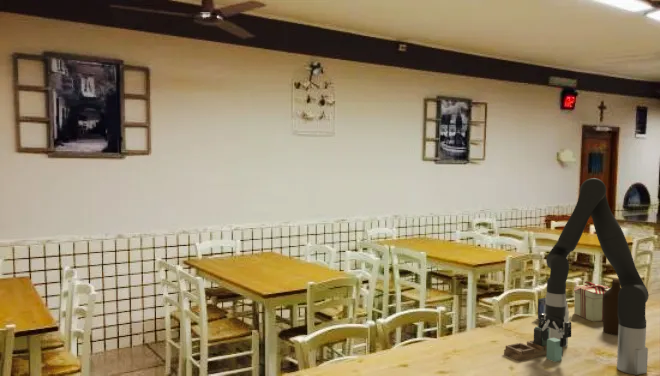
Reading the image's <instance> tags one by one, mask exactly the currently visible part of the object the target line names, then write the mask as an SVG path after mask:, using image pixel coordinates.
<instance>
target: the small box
mask: <svg viewBox="0 0 660 376" xmlns="http://www.w3.org/2000/svg"><path fill="white" fill-rule="evenodd" d="M537 299H538V301H537V304H538V305H537V320H539V315H540V314H544V313H545V304H546V297H542V298H537ZM545 321H546V320H545ZM546 322H547V321H546ZM546 322H545V323H546Z"/></svg>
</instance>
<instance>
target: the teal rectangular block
mask: <svg viewBox="0 0 660 376" xmlns="http://www.w3.org/2000/svg"><path fill="white" fill-rule="evenodd" d="M563 356H564V347H560V340H559V339H557V338H550V339H547V355H546V358H547V360H549V361H551V360H552V361H551V362H554V363H556V362H560V360H561V361H562V360H563Z"/></svg>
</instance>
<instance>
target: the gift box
mask: <svg viewBox="0 0 660 376" xmlns="http://www.w3.org/2000/svg"><path fill="white" fill-rule="evenodd" d="M610 288H611V287H609V286H607V285H601V284H595V283H594V282H591V281H584V284H583V285H582V284H581V285H574V286H573V293H574V303H573V304H574V306H573V307H574V311H573V312H574V314H575V315H577V316H579V317H581V318H583V319H586V320H588V321H591V322H603V296H604V294H605V292H606V291H607V290H609V289H610Z"/></svg>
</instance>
